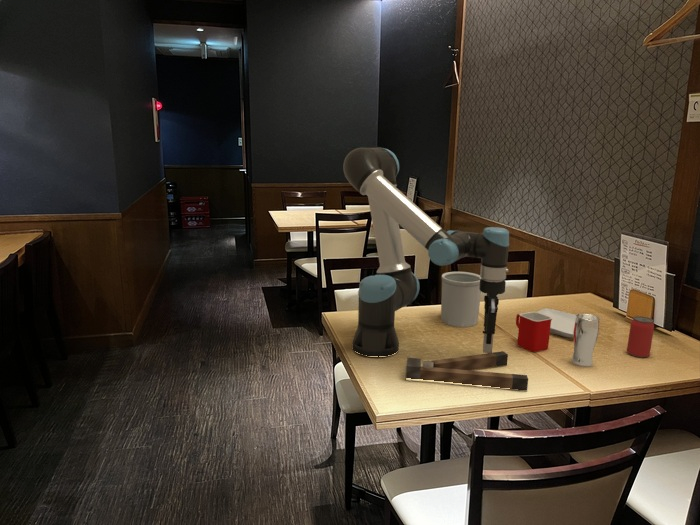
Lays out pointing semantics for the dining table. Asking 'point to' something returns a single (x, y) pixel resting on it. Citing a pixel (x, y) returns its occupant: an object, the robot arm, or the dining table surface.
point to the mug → (533, 331)
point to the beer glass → (585, 338)
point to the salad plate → (560, 322)
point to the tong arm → (473, 361)
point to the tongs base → (464, 375)
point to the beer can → (640, 336)
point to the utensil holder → (460, 299)
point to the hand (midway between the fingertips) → (487, 352)
